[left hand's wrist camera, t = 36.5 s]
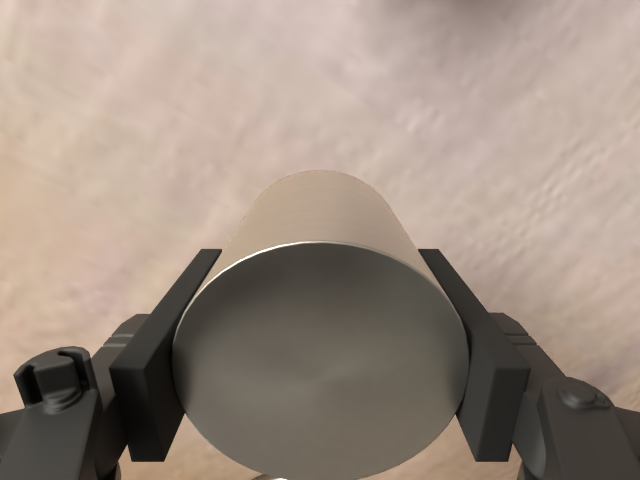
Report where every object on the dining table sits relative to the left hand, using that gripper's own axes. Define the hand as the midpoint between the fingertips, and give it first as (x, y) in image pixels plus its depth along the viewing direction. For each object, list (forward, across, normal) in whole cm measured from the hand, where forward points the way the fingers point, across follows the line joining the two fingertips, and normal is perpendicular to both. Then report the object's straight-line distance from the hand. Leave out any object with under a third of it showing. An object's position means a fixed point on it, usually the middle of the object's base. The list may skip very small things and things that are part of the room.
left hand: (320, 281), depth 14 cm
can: (+3, 0, 0) cm, 3 cm away
